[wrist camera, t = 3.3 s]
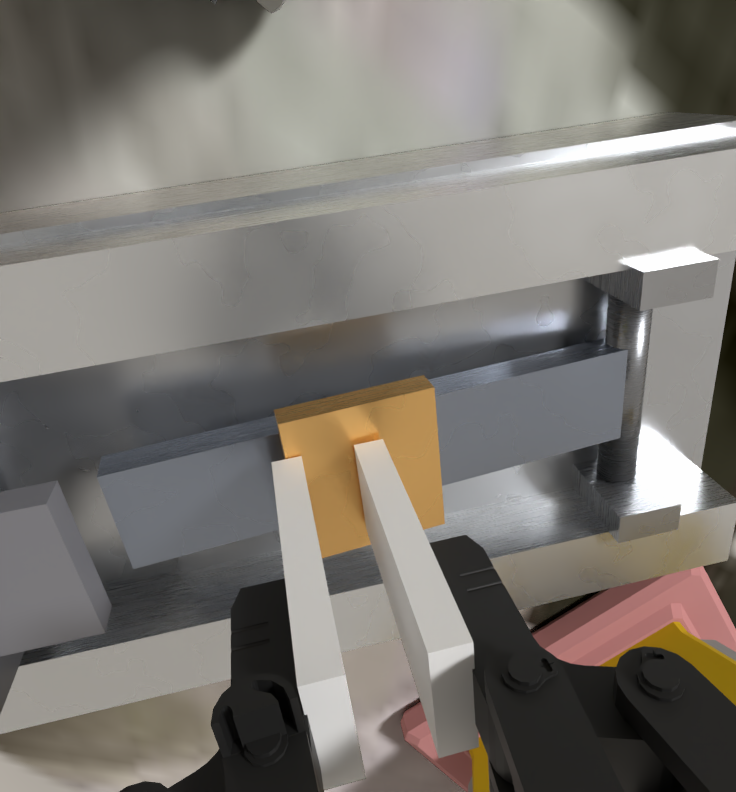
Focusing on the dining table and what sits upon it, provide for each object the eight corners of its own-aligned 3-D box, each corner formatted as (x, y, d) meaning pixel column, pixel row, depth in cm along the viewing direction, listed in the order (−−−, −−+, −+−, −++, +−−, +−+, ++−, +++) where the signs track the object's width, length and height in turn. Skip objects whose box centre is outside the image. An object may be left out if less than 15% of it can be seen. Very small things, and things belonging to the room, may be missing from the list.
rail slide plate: (-172, 238, 17) (-396, 320, 11) (668, 112, 20) (855, 122, 14) (17, 594, 24) (-60, 768, 18) (633, 461, 27) (750, 572, 21)
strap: (79, 396, 15) (67, 433, 13) (636, 275, 18) (683, 294, 16) (153, 587, 18) (150, 636, 16) (620, 457, 21) (658, 488, 19)
